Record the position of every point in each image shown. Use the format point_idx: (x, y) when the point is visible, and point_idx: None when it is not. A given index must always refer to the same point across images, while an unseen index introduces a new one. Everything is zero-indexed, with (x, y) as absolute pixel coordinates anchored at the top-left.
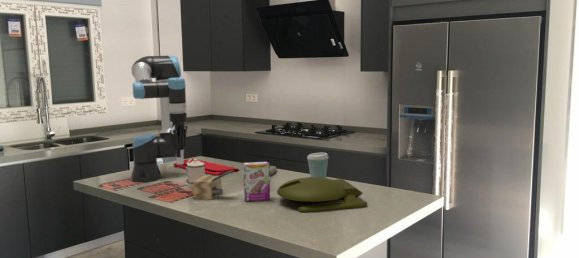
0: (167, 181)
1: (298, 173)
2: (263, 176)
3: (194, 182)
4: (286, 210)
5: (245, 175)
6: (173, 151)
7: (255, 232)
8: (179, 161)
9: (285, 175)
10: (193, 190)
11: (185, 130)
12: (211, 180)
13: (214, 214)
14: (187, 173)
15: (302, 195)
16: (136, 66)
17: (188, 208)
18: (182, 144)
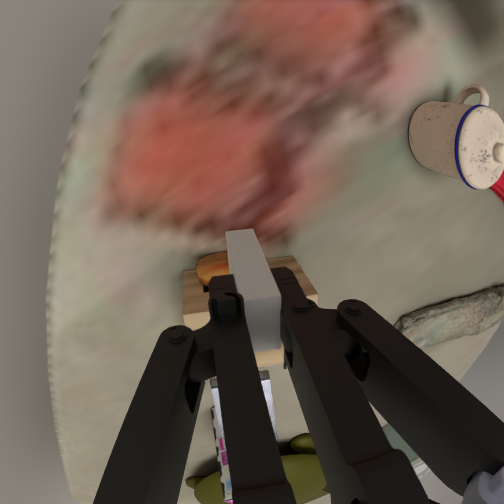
0: (410, 15)
1: (474, 358)
2: None
3: (183, 316)
4: (186, 467)
5: (220, 473)
6: None
7: (61, 457)
8: (229, 265)
9: (466, 348)
10: (198, 276)
11: (450, 488)
12: None
13: (82, 391)
14: (465, 90)
15: (201, 501)
16: None
17: (79, 314)
18: (295, 388)
